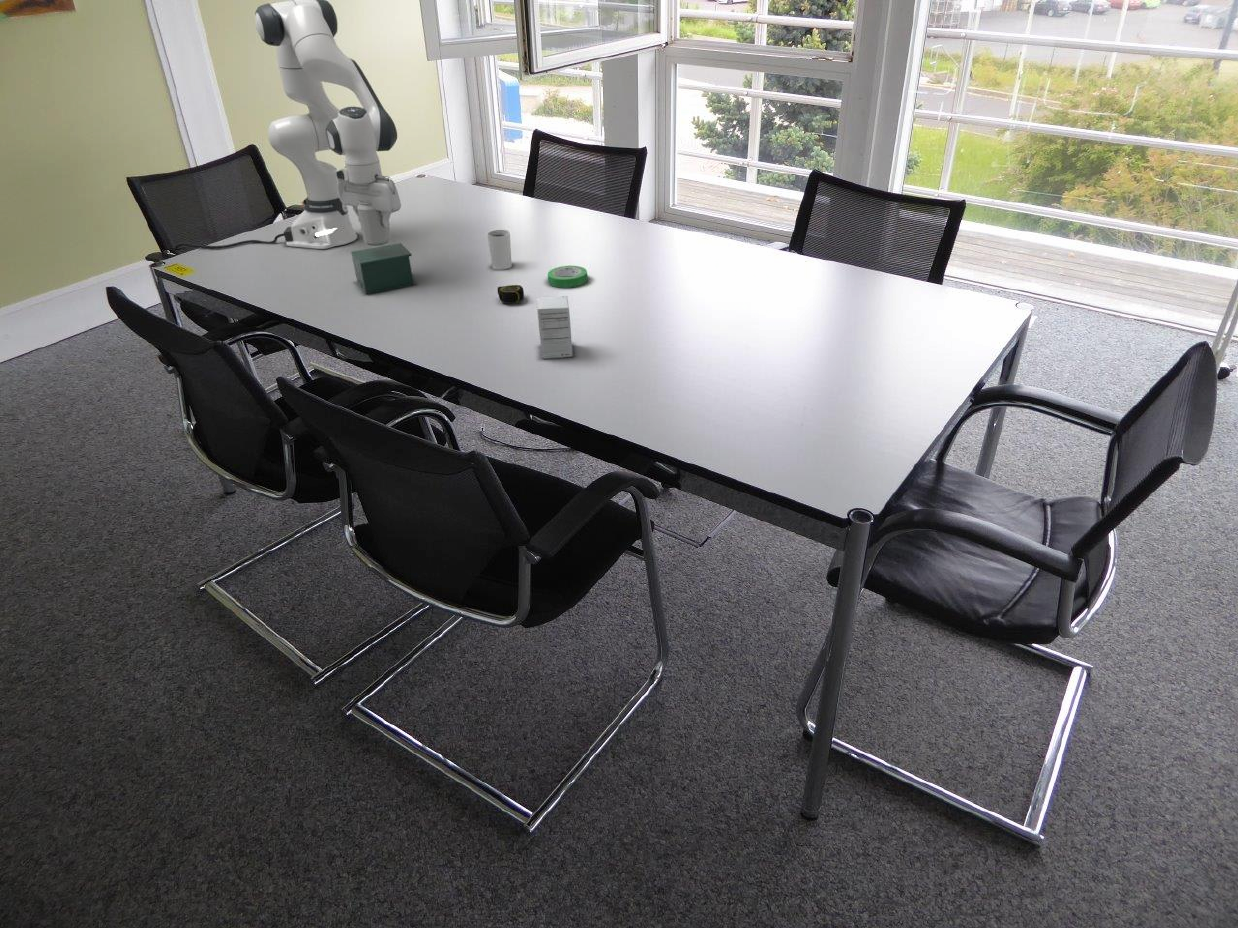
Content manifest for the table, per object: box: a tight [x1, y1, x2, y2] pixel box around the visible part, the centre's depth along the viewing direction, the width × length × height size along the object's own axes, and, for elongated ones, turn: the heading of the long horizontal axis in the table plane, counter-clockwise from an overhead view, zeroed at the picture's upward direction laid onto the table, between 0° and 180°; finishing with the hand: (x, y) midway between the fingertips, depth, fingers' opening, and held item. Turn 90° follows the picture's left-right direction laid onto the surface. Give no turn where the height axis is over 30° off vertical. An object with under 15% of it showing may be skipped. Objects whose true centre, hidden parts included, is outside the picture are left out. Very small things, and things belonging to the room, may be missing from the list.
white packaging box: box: [536, 295, 573, 360], centre depth 203 cm, size 7×7×13 cm
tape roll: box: [547, 265, 589, 289], centre depth 245 cm, size 11×11×3 cm
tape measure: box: [497, 284, 525, 304], centre depth 234 cm, size 7×7×4 cm
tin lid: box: [350, 242, 413, 266], centre depth 245 cm, size 14×11×1 cm
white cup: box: [486, 229, 513, 271], centre depth 255 cm, size 7×7×10 cm
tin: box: [351, 254, 415, 295], centre depth 247 cm, size 14×11×8 cm
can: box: [357, 201, 392, 247], centre depth 240 cm, size 8×8×12 cm
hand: (374, 224), depth 240 cm, fingers closed on can, 7 cm apart
